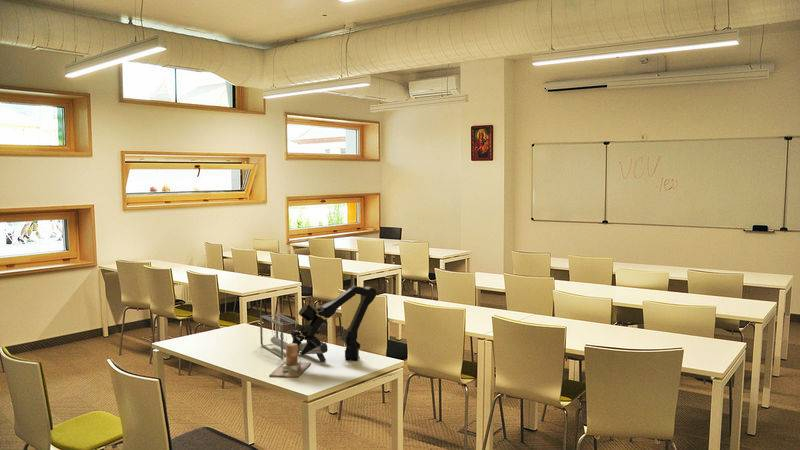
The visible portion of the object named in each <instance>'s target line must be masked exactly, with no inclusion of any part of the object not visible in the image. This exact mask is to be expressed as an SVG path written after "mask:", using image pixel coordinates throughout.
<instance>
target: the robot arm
mask: <svg viewBox="0 0 800 450" xmlns="http://www.w3.org/2000/svg"><path fill="white" fill-rule="evenodd" d="M377 294H378V292H377V290H376V289H375V288H373V287H371V286H369V285H368V286H367V285H366V286H365V287H363V286H362V287H361V286H356V285H352V286H350V287H349V288H348V289H346V291H344V292H343V293H341V294H340V295H338V296H337V297H336V298H334V299H333V300H331V301H329V302H326V303H324V304H322V305H320V306H319V307H318V308H315V309H314V308H313V307H312V306H311V304H308V303H307V304H306V305H304V306H303V307H301V308H300V310H299V311H298V315H299V316H300V317H301V318H302V319H304V320H305V322H309V321H310V322H309V323H308V324H303V325H302V324H296V323H295V324H296V325H295V328H294V330H292V331H291V333H290V335H291V338H292V342H291V343H295V344H297V345H298V346H299V345H300V344H301V343H303V341H306V343H307V344H306V346H305V347H304V349H303V351H302V353H301V354H300V355H301V356H304V355H307V354H306V353H307V352H309V351H311V350H313V349H314V348H317V347H320V345H321V341H322V340H320V339H319V338H318V337H317V336H316V335H319V333H320V332H319V330H320V329H321V327H322V326H323V325H329V323H328V320H327V319H330V318H331V317H332V316H333V315H334V314H335V313H336V312H337V310H338V309H339V308H340V307H341V306H343V305H345V304H346V303H347V302H348V301H349V300H351V299H352V298H353V297H355V296H356V295H357V296H358V295H360V302H359V303H358V306H357V309H356V311H355V313H354V315H353V317H352V320H351V322H350V324H349V326H348V328H344V329H343V332H342V334H340V336H341V342H342V343H343V344H344V346H345V350H344V360H345V361H348V362H349V361H351V362H352V361H356V362H358V360H359V359H360V358H361V357H360V348H361V346H362V345H361V343H360V342H358V340H357V339H358V331H359V328H360V326H361V324H362V321H363V319H364V317H365V315H366V312H367V309H368V308H369V305H370V304H372V302H373V301H374V299H376V296H377ZM297 330H298V331H299V332H298V331H297ZM316 346H317V347H316Z"/></svg>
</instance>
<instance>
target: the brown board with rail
mask: <svg viewBox="0 0 800 450" xmlns="http://www.w3.org/2000/svg"><path fill="white" fill-rule="evenodd" d="M311 365H312V362H306V361H305V362H304V361H303V362H301V361H298V364H297V365H295V366H288V365H286V361H283V362H282V363H281V364H279V366H278V367H277V368H275V369H274V370H273V371H272V372H271V373H270V374H269V375H268V376H269V378H293V379H294V378H295V379H298V378H300V377H301V375H303V373H304V372H305V371H306V370H307V369H309V367H310V366H311Z"/></svg>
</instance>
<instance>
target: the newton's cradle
mask: <svg viewBox="0 0 800 450" xmlns="http://www.w3.org/2000/svg"><path fill="white" fill-rule="evenodd" d="M270 316H271V317H270ZM272 317H273V314H269V315H267V314H266V315H261V316H260V317H259V324H260V325H259V327H260V328H259V329H260V330H259V331H260V332H259V333H260V345H261V347H262V348H264V349H266V350H267V351H269V352H271V353H273V354H274V355H276V356H277V357H279V358H283V357H286V354H285V355H284V350H285V351H286V344H289V343H288V342H287V338H288V337H286V338H285V336H284V332H285V331H287V332H286V334H288V332H289V330H285V329H284V328H283V326H286V325H287V327H289V326H290V325H293V324H299V322H298V321H296V320H294V319H292V318H289V317H288V316H285V315H282V314H281V313H275V314H274V317H273V318H272ZM263 319H264V320H266V321H269V323H270V324H272V325H273V326H270V327H271V329H272V327H275V329H273V330H274V333H275V334H274V333H273V331H271V333H272V334H274V335H272V337H271V338H270V342H271V343H269V344H265V345H264V342H263V341H264V340H263V336H264V335H263ZM281 320H283V321H281ZM284 321H285V322H284ZM287 322H288V323H287ZM274 324H275V325H274ZM283 329H284V330H283ZM296 331H298V330H296ZM279 332H280V334H279ZM298 332H300V331H298ZM279 335H280V337H279ZM284 339H285V340H284ZM271 345H276V346H277V347H279V348H280V353H278V352H276V351H275V350H273V349H271V348H269V347H268V346H271ZM300 352H301V351H300V345H299V346H298V355H300Z"/></svg>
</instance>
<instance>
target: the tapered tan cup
mask: <svg viewBox="0 0 800 450" xmlns="http://www.w3.org/2000/svg"><path fill="white" fill-rule="evenodd" d="M285 355H286V356H285V362H286V365H288V366H295V365H297V364H298V362H299V361H298V359H299V357H298V355H299V354H298V345H297V344H295V343H292V342H291V343H288V344H286V350H285Z"/></svg>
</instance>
